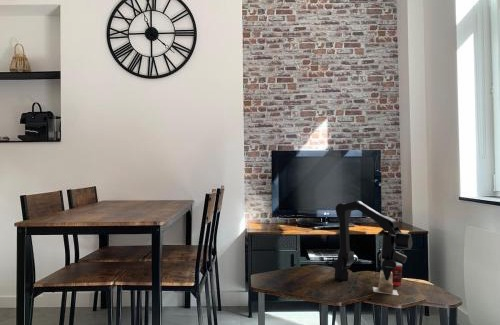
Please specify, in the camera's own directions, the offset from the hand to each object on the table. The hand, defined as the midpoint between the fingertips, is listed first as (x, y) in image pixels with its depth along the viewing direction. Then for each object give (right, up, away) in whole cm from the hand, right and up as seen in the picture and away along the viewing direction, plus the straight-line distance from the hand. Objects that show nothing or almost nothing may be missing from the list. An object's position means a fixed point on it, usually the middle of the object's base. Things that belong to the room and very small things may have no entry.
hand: (386, 277), depth 180 cm
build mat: (0, -7, 0) cm, 7 cm away
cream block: (0, -6, 0) cm, 6 cm away
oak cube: (0, -2, 0) cm, 2 cm away
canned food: (+8, -8, +14) cm, 18 cm away
